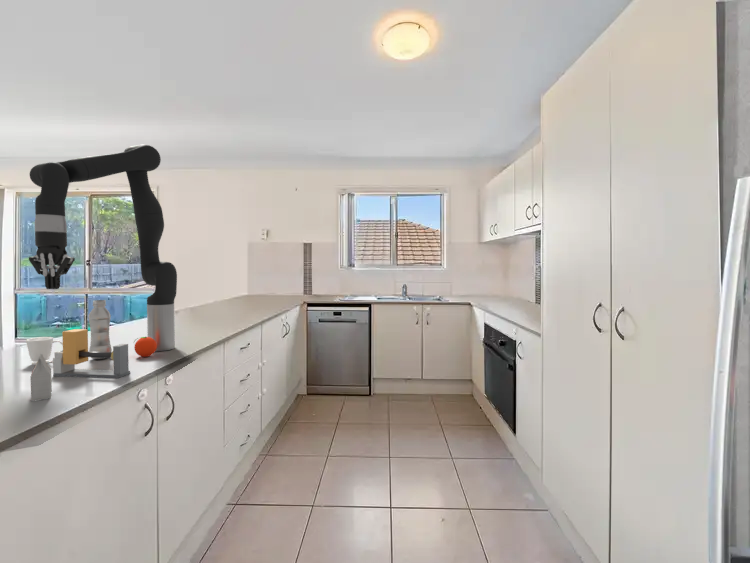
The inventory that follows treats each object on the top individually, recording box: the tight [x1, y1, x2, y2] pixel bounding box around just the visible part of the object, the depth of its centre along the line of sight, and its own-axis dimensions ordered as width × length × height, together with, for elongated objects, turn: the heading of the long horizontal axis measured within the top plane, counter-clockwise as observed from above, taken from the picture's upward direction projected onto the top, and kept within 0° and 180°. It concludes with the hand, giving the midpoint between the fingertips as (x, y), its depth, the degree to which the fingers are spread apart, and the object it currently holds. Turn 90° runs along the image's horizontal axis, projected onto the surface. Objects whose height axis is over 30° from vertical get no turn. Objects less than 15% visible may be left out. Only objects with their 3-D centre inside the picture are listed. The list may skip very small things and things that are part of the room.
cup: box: [25, 336, 63, 366], centre depth 136 cm, size 7×10×8 cm
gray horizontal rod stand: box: [52, 343, 131, 379], centre depth 122 cm, size 20×5×9 cm, turn 86°
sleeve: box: [61, 328, 89, 366], centre depth 122 cm, size 4×5×10 cm
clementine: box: [133, 336, 157, 358], centre depth 146 cm, size 8×7×7 cm
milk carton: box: [30, 354, 53, 402], centre depth 103 cm, size 4×7×10 cm, turn 36°
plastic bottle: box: [87, 299, 113, 360], centre depth 141 cm, size 6×7×20 cm
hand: (52, 288), depth 125 cm, fingers closed
